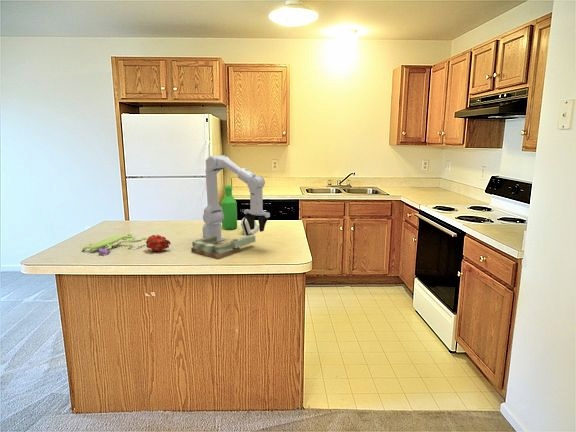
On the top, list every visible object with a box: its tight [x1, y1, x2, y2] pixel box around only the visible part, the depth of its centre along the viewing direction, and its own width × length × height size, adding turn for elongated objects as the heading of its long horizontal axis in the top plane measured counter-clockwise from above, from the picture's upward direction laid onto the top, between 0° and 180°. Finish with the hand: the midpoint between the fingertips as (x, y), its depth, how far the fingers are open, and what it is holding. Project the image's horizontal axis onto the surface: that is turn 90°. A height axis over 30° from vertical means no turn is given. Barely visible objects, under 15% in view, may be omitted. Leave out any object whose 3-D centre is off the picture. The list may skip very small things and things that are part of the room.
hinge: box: [240, 217, 260, 236], centre depth 218 cm, size 17×5×10 cm, turn 171°
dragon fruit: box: [145, 234, 172, 252], centre depth 184 cm, size 8×8×12 cm
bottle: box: [220, 185, 238, 231], centre depth 224 cm, size 9×9×25 cm
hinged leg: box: [230, 234, 257, 248], centre depth 186 cm, size 14×3×4 cm, turn 143°
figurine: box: [81, 233, 148, 255], centre depth 188 cm, size 18×27×6 cm
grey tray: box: [191, 236, 241, 260], centre depth 182 cm, size 18×14×5 cm
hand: (256, 230), depth 184 cm, fingers open, 5 cm apart
